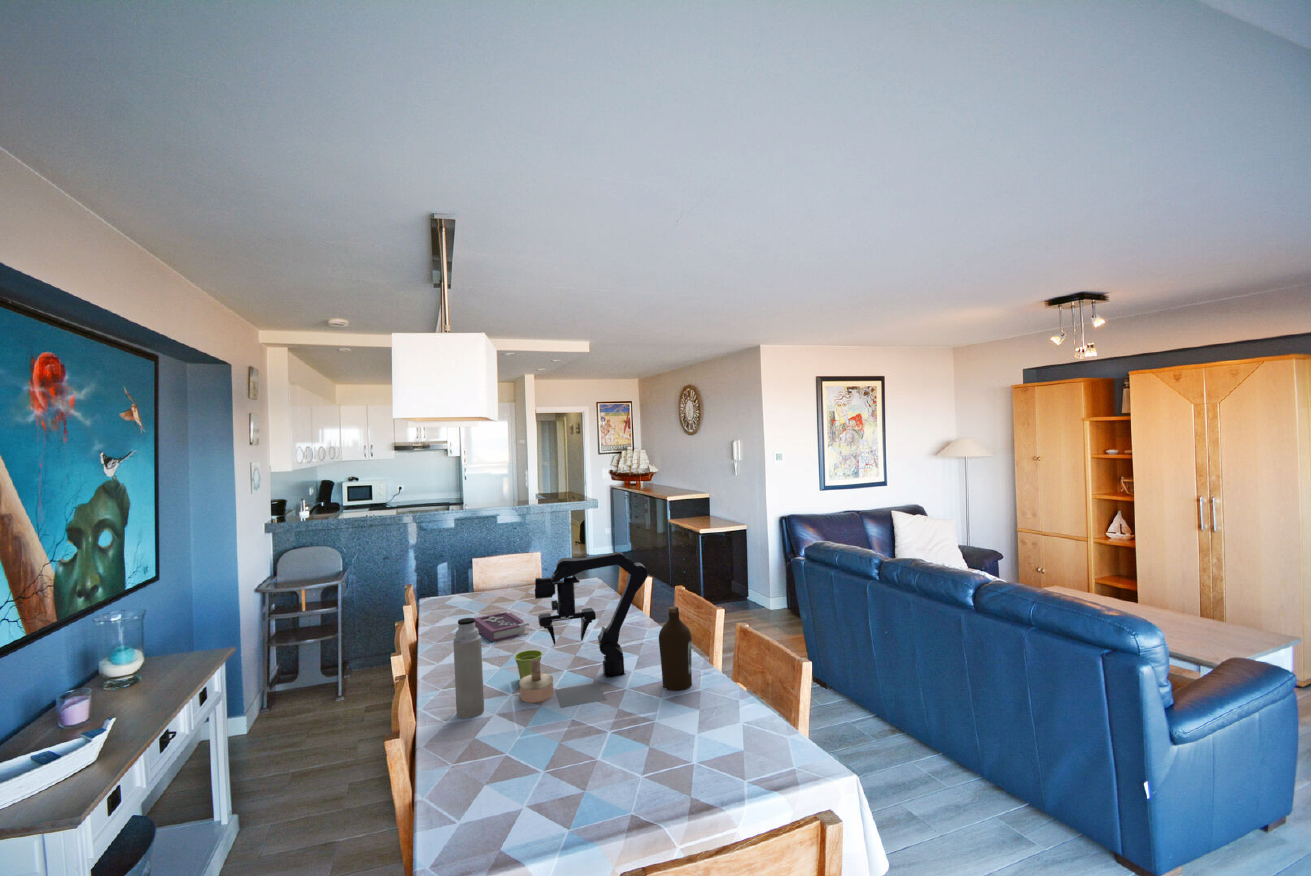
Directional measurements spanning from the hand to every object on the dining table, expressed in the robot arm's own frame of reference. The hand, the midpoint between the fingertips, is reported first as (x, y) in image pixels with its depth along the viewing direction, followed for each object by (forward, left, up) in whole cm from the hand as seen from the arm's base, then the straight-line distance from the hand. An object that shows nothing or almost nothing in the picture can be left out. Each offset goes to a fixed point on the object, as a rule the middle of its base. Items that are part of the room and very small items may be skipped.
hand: (568, 642), depth 199 cm
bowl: (+12, +10, -12) cm, 20 cm away
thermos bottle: (+32, +13, -13) cm, 37 cm away
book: (+20, -67, -13) cm, 71 cm away
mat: (-1, +15, -12) cm, 20 cm away
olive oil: (-32, +19, -13) cm, 39 cm away
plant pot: (+13, -5, -13) cm, 19 cm away
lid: (+12, +10, -8) cm, 18 cm away
